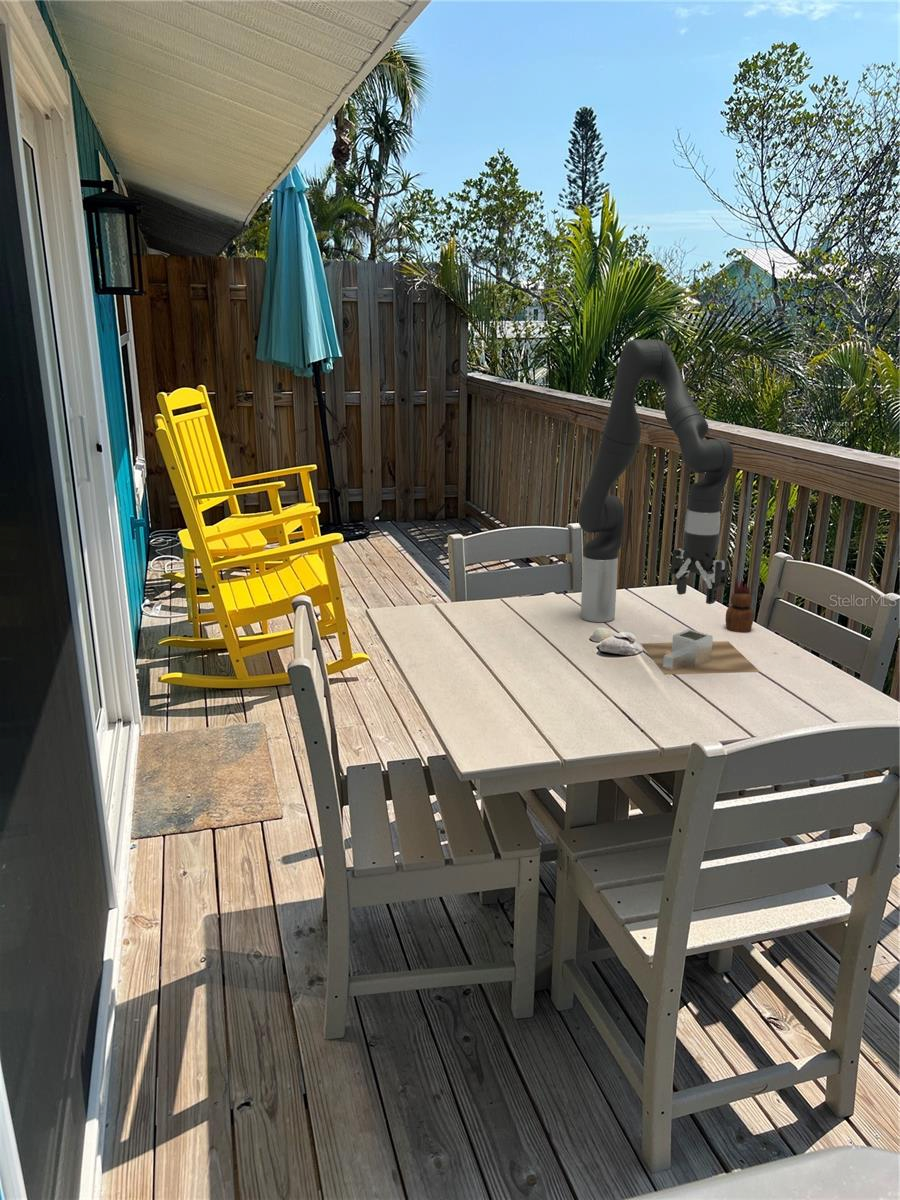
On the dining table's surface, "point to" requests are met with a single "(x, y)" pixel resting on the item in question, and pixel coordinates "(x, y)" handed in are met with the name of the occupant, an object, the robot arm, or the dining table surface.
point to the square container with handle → (688, 650)
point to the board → (721, 661)
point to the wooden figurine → (740, 610)
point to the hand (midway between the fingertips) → (695, 598)
